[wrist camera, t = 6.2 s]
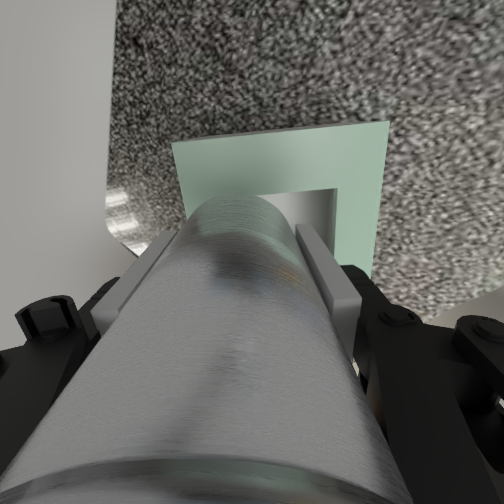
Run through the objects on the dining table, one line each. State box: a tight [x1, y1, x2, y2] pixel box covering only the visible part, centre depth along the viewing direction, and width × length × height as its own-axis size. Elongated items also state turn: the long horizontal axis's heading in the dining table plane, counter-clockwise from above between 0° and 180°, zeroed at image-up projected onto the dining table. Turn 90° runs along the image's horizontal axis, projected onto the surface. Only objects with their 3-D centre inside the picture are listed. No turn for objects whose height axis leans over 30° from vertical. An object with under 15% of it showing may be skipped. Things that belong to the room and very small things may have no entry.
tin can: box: [0, 193, 414, 504], centre depth 8 cm, size 6×6×12 cm
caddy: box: [171, 121, 390, 279], centre depth 29 cm, size 18×16×13 cm
